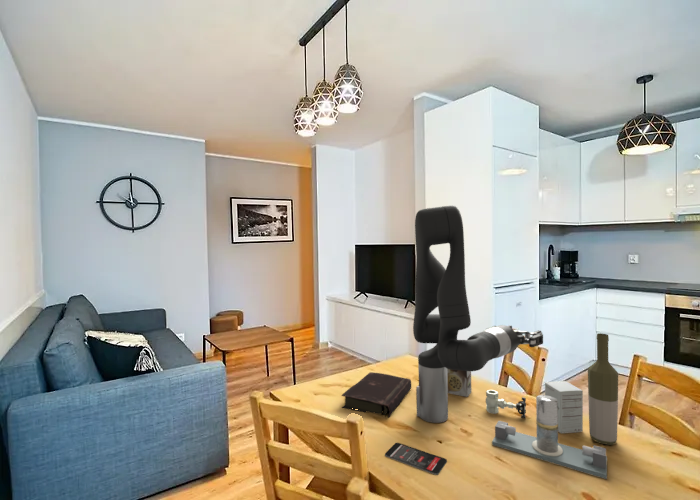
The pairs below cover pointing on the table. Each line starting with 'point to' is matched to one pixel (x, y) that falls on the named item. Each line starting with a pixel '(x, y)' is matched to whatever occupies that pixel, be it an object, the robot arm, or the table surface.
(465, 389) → the coffee box
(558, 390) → the supplement box
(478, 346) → the robot arm
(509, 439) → the shaft bench
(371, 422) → the table surface
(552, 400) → the sleeve
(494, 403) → the valve
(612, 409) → the bottle
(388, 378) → the diary
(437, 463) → the smartphone
